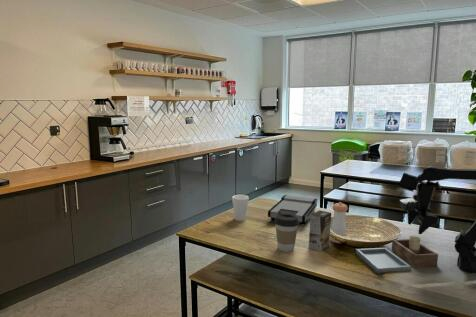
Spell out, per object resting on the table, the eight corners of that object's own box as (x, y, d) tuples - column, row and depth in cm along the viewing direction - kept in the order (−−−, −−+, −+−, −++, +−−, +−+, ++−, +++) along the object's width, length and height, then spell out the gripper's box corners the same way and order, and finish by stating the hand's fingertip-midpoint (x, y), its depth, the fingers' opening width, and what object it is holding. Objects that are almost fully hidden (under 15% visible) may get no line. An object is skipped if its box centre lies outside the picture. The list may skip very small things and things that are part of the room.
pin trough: (436, 268, 140) (438, 254, 139) (414, 269, 138) (415, 255, 137) (411, 251, 155) (413, 238, 154) (391, 252, 154) (392, 239, 153)
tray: (410, 272, 136) (411, 266, 135) (377, 274, 134) (378, 268, 133) (385, 252, 153) (385, 247, 153) (355, 254, 151) (356, 249, 151)
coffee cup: (299, 244, 161) (300, 214, 159) (297, 255, 150) (298, 222, 148) (275, 242, 164) (276, 211, 162) (271, 251, 153) (272, 219, 151)
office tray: (267, 223, 191) (268, 208, 189) (284, 207, 220) (284, 195, 218) (304, 228, 182) (305, 214, 181) (316, 211, 211) (317, 198, 210)
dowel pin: (420, 259, 145) (422, 239, 143) (411, 260, 144) (413, 239, 143) (414, 255, 149) (416, 235, 147) (405, 255, 148) (407, 236, 147)
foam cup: (229, 217, 198) (229, 195, 196) (243, 215, 202) (244, 194, 200) (236, 222, 190) (236, 200, 188) (251, 220, 194) (251, 198, 192)
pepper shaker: (327, 240, 167) (329, 202, 164) (335, 236, 172) (337, 199, 169) (341, 244, 162) (343, 205, 159) (348, 240, 167) (351, 202, 164)
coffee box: (321, 251, 154) (322, 217, 151) (308, 247, 158) (309, 214, 155) (329, 245, 161) (331, 212, 158) (317, 241, 165) (319, 209, 162)
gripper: (396, 185, 151) (387, 217, 155) (416, 200, 133) (405, 236, 137) (420, 188, 152) (411, 220, 156) (444, 204, 134) (433, 240, 138)
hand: (414, 229), depth 146 cm, fingers open, 9 cm apart
